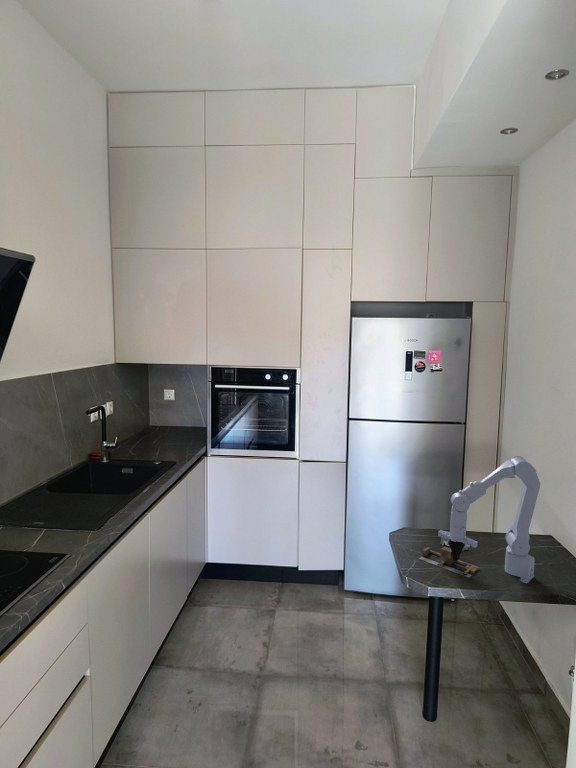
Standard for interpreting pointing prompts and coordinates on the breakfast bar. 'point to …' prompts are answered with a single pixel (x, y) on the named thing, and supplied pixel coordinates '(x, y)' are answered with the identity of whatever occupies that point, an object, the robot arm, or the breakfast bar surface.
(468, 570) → the gauge board
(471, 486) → the robot arm
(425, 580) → the breakfast bar surface
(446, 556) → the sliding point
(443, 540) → the metal bracket
